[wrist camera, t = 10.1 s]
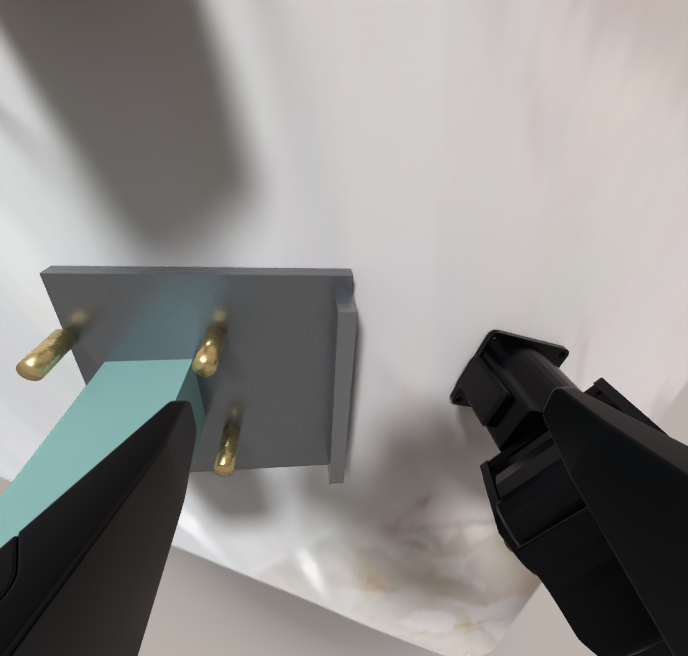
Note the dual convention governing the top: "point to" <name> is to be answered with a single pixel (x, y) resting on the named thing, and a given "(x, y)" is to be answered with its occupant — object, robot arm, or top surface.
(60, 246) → the top surface
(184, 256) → the top surface
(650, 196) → the top surface
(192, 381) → the plate
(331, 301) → the plate
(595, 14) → the top surface
